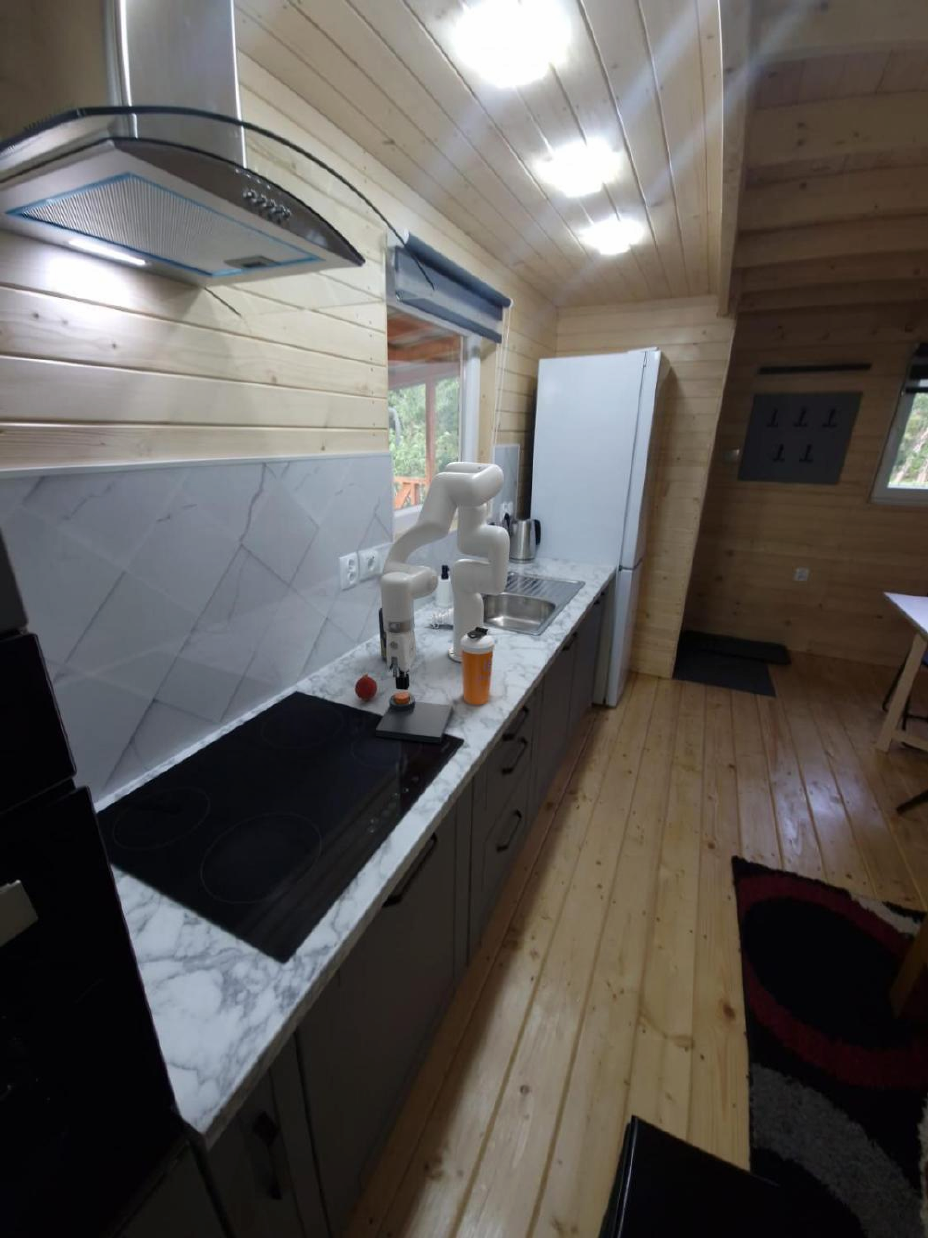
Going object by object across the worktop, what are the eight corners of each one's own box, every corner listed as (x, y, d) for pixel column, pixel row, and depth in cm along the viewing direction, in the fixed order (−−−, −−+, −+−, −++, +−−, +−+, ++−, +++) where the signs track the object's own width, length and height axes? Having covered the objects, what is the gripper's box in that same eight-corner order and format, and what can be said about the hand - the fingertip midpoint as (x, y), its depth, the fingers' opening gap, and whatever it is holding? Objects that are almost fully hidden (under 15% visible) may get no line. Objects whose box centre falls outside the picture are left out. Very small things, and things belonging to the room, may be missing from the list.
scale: (394, 702, 133) (393, 691, 132) (453, 709, 130) (453, 697, 129) (374, 736, 119) (374, 723, 118) (440, 744, 117) (440, 731, 115)
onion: (373, 707, 131) (371, 680, 128) (352, 704, 132) (350, 678, 129) (380, 696, 136) (379, 670, 133) (361, 693, 137) (359, 668, 134)
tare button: (397, 696, 130) (397, 691, 130) (410, 697, 130) (410, 692, 129) (393, 703, 127) (393, 698, 127) (406, 704, 127) (406, 699, 126)
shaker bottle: (455, 702, 133) (455, 635, 126) (467, 687, 141) (467, 622, 134) (486, 709, 130) (488, 640, 123) (496, 693, 138) (499, 627, 131)
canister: (414, 652, 162) (413, 601, 155) (406, 666, 153) (404, 611, 146) (386, 650, 163) (383, 599, 156) (377, 663, 154) (373, 609, 148)
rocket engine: (423, 601, 178) (472, 592, 176) (430, 611, 189) (476, 603, 187) (427, 631, 174) (477, 622, 172) (434, 640, 185) (481, 631, 183)
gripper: (404, 637, 113) (408, 705, 120) (421, 612, 127) (424, 675, 134) (373, 634, 114) (379, 702, 122) (393, 610, 128) (397, 672, 135)
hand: (402, 687), depth 128 cm, fingers closed
